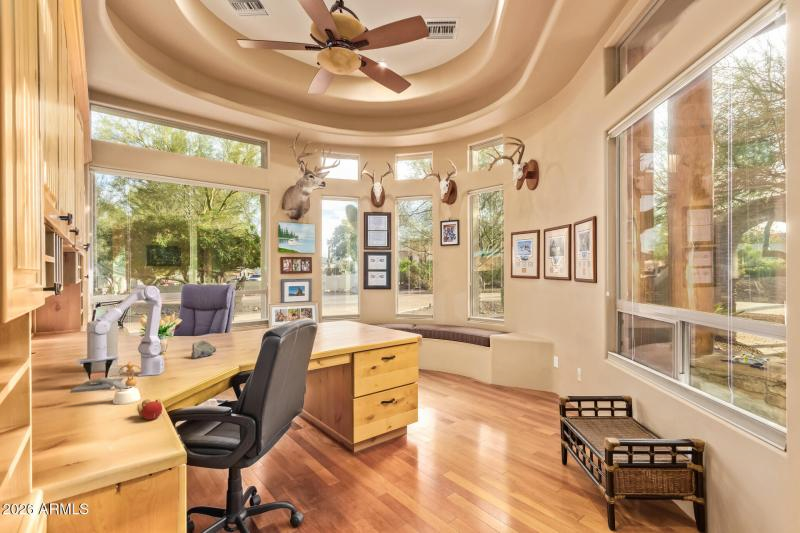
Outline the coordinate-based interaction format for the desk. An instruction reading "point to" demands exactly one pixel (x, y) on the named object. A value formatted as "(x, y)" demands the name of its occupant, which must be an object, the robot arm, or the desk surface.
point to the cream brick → (115, 370)
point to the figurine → (130, 380)
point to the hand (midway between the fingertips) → (98, 378)
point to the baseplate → (93, 386)
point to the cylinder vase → (111, 347)
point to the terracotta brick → (97, 375)
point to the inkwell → (120, 391)
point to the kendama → (150, 409)
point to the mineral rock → (202, 349)
